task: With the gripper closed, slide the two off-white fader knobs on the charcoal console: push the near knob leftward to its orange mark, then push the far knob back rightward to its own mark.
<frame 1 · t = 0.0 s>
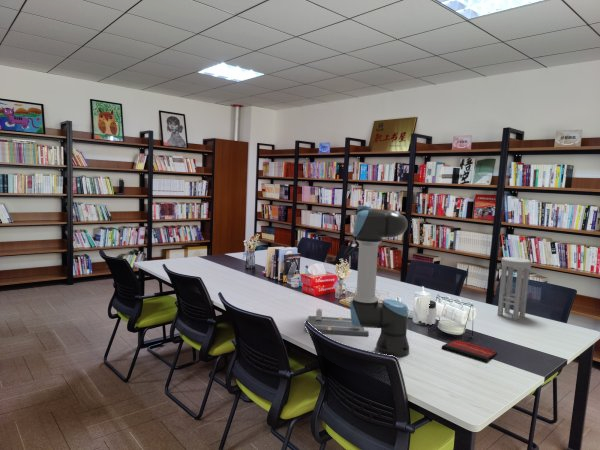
hand: (361, 268, 243), 28 cm above the table, fingers open, 13 cm apart
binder: (469, 352, 199), on the table
console: (336, 327, 224), on the table
fader a: (356, 322, 218), point 5 cm above the table, slide at 0.0 cm
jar: (427, 322, 237), on the table
fader b: (319, 314, 229), point 5 cm above the table, slide at 0.0 cm
stool: (511, 315, 256), on the table
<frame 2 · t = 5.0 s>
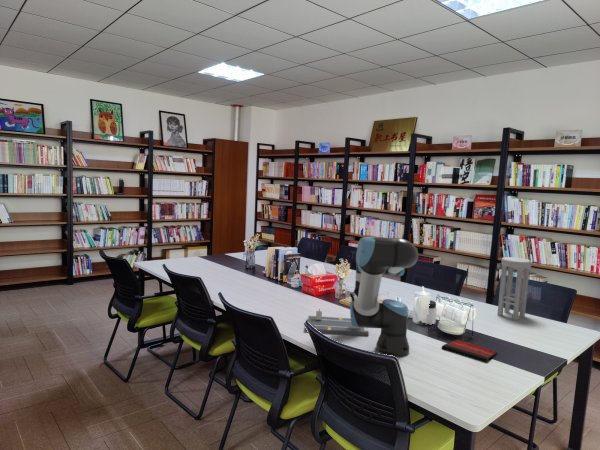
hand: (360, 324, 218), 4 cm above the table, fingers closed
fader a: (354, 322, 218), point 5 cm above the table, slide at 1.2 cm, touching gripper
everything else where it was.
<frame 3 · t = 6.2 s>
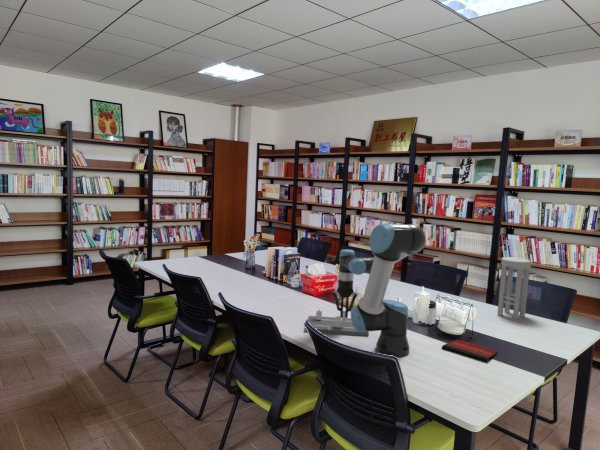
hand: (343, 323, 219), 4 cm above the table, fingers closed
fader a: (337, 321, 218), point 5 cm above the table, slide at 9.9 cm, touching gripper
everything else where it was.
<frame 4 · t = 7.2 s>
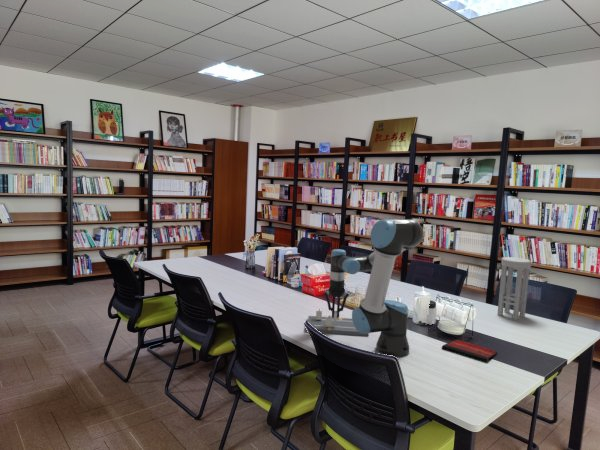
hand: (335, 323, 219), 4 cm above the table, fingers closed
fader a: (328, 320, 219), point 5 cm above the table, slide at 14.4 cm, touching gripper
everything else where it was.
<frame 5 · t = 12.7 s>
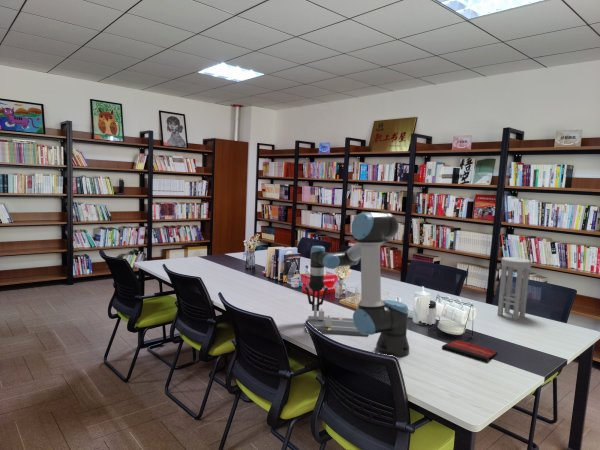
hand: (315, 316, 229), 4 cm above the table, fingers closed
fader a: (328, 320, 219), point 5 cm above the table, slide at 14.6 cm
fader b: (321, 314, 229), point 5 cm above the table, slide at 1.3 cm, touching gripper
everything else where it was.
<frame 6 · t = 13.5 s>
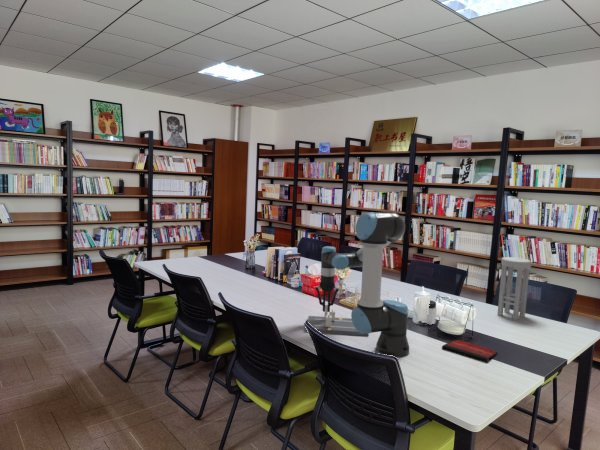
hand: (325, 317, 229), 4 cm above the table, fingers closed
fader b: (332, 315, 229), point 5 cm above the table, slide at 7.2 cm, touching gripper
everything else where it was.
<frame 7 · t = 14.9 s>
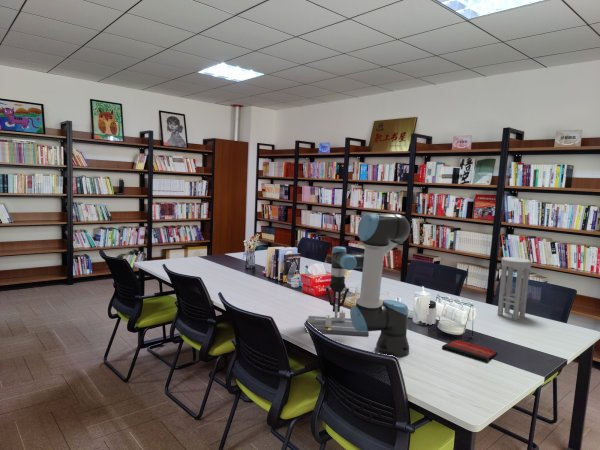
hand: (335, 317, 229), 4 cm above the table, fingers closed
fader b: (342, 315, 228), point 5 cm above the table, slide at 12.6 cm, touching gripper
everything else where it was.
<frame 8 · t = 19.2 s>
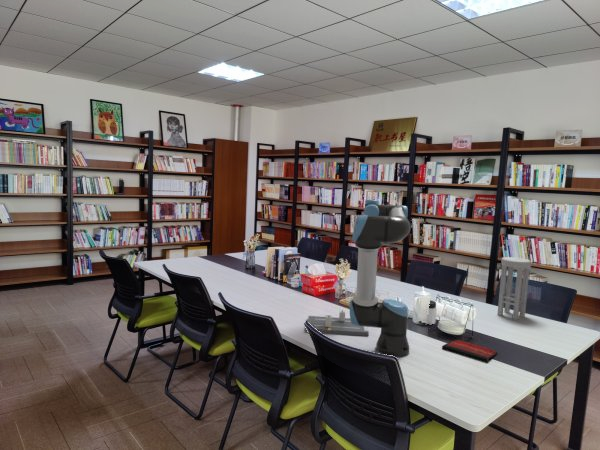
hand: (368, 269, 233), 29 cm above the table, fingers closed
fader b: (342, 315, 228), point 5 cm above the table, slide at 12.6 cm
everything else where it was.
at the end: fader a slide at 14.6 cm; fader b slide at 12.6 cm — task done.
